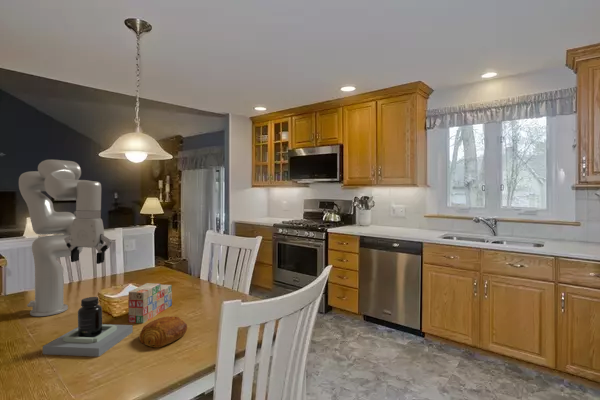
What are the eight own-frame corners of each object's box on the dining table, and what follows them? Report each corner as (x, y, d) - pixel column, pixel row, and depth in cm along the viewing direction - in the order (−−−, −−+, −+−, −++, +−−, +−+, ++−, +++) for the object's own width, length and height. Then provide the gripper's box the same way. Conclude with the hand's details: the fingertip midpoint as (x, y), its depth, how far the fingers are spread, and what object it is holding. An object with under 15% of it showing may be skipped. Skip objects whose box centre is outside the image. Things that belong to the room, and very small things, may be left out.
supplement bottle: (85, 330, 113) (85, 295, 113) (106, 330, 114) (106, 295, 114) (73, 339, 106) (73, 302, 106) (95, 338, 107) (95, 301, 107)
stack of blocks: (159, 304, 148) (159, 277, 148) (172, 305, 148) (172, 278, 147) (128, 323, 127) (128, 291, 127) (143, 324, 126) (143, 292, 126)
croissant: (194, 340, 118) (196, 317, 118) (159, 352, 104) (162, 326, 104) (164, 331, 124) (167, 309, 125) (127, 342, 110) (131, 317, 111)
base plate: (42, 354, 102) (42, 342, 102) (84, 330, 120) (84, 320, 120) (98, 356, 100) (98, 344, 100) (132, 332, 118) (132, 321, 118)
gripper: (57, 214, 116) (56, 262, 117) (104, 217, 115) (103, 266, 116) (73, 213, 124) (73, 258, 124) (117, 215, 122) (116, 261, 123)
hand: (87, 262), depth 120 cm, fingers open, 9 cm apart
